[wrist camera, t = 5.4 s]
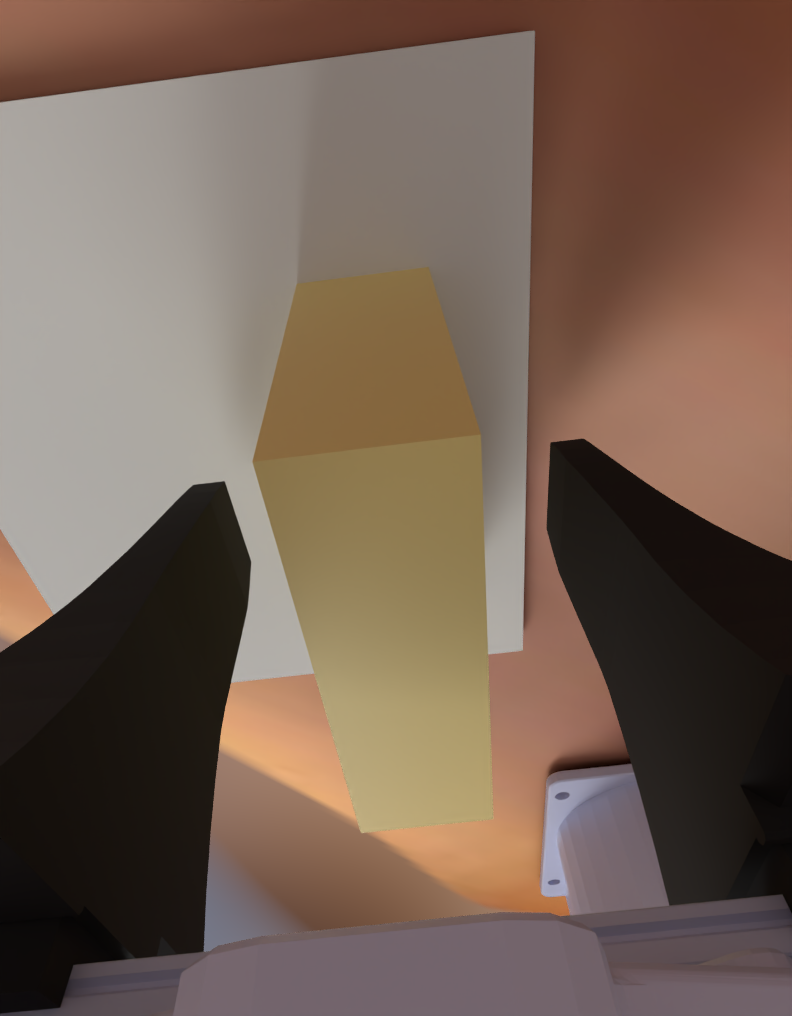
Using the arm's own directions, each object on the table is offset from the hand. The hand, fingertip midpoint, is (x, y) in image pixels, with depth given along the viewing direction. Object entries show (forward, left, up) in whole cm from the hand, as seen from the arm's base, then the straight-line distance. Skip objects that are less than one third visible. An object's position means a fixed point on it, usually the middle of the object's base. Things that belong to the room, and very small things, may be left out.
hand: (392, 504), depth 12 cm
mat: (0, +3, -2) cm, 4 cm away
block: (0, 0, -2) cm, 2 cm away
